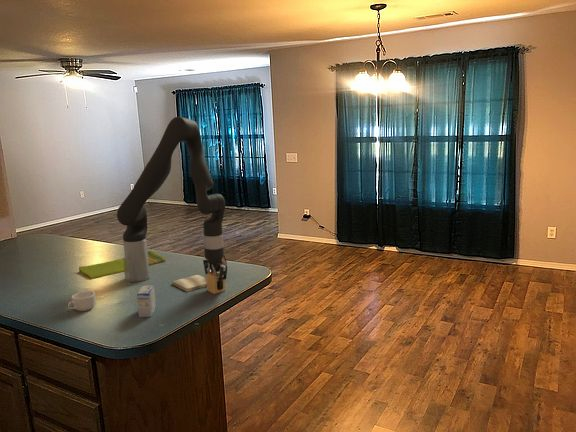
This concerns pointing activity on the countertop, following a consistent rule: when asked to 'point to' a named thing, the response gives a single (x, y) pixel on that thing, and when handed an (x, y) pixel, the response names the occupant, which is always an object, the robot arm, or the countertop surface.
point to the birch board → (191, 283)
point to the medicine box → (146, 301)
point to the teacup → (83, 300)
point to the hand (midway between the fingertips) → (216, 287)
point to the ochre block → (213, 283)
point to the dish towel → (114, 266)
